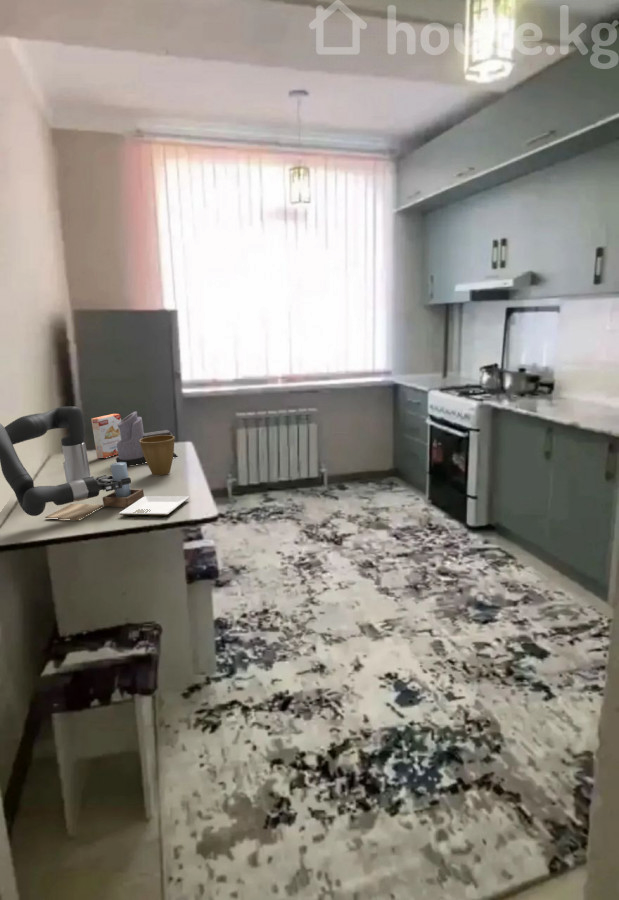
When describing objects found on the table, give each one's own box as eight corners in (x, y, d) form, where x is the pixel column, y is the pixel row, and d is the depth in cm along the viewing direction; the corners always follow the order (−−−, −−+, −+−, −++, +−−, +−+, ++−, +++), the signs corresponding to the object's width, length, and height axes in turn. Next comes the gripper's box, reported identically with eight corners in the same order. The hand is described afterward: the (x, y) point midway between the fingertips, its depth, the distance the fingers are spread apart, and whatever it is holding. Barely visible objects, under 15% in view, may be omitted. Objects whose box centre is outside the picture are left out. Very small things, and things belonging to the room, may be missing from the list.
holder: (103, 506, 212) (102, 497, 211) (120, 497, 222) (119, 488, 221) (128, 507, 209) (127, 498, 208) (144, 498, 219) (143, 489, 218)
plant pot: (149, 480, 243) (144, 444, 239) (140, 473, 255) (135, 438, 252) (183, 473, 250) (178, 438, 246) (173, 467, 263) (168, 433, 259)
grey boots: (115, 469, 267) (107, 417, 262) (112, 461, 282) (104, 413, 276) (179, 458, 279) (173, 409, 273) (173, 452, 293) (167, 405, 287)
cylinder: (113, 504, 214) (107, 466, 210) (122, 499, 219) (116, 462, 215) (126, 504, 212) (120, 466, 209) (135, 500, 217) (129, 462, 214)
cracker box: (104, 459, 287) (98, 418, 282) (96, 458, 291) (90, 418, 286) (126, 452, 299) (120, 413, 294) (118, 452, 302) (112, 413, 297)
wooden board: (45, 519, 202) (44, 517, 202) (71, 506, 215) (71, 503, 215) (78, 521, 198) (78, 518, 198) (103, 507, 211) (102, 504, 211)
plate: (190, 501, 212) (190, 495, 212) (168, 519, 194) (167, 513, 194) (145, 500, 216) (144, 495, 216) (118, 518, 199) (118, 513, 198)
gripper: (77, 495, 210) (118, 484, 221) (92, 503, 200) (135, 491, 210) (73, 476, 209) (116, 465, 219) (88, 482, 198) (132, 471, 209)
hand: (125, 478), depth 215 cm, fingers open, 8 cm apart
